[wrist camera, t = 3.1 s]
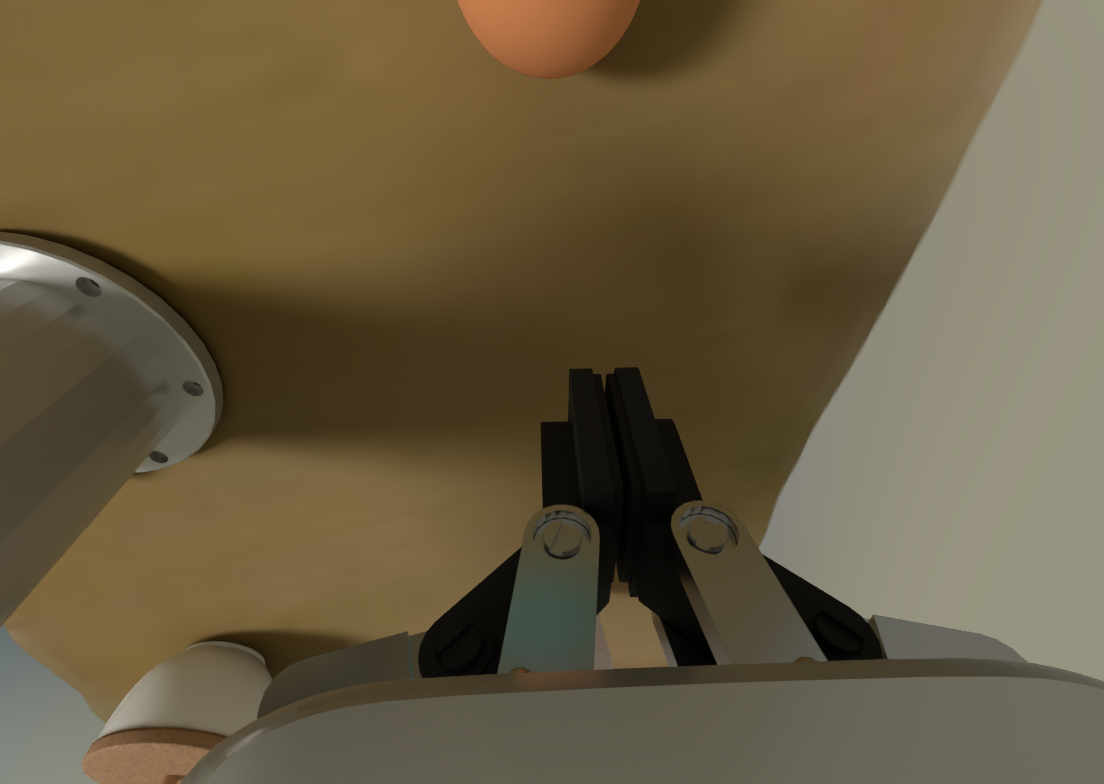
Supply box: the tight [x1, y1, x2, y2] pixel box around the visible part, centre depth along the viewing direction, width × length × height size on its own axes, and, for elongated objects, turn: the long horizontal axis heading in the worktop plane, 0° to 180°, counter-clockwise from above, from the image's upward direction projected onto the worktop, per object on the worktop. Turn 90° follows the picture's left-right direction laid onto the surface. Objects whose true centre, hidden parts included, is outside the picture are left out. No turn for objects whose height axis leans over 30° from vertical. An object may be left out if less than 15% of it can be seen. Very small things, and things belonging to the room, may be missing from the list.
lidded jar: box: [82, 641, 272, 784], centre depth 36 cm, size 11×11×9 cm
